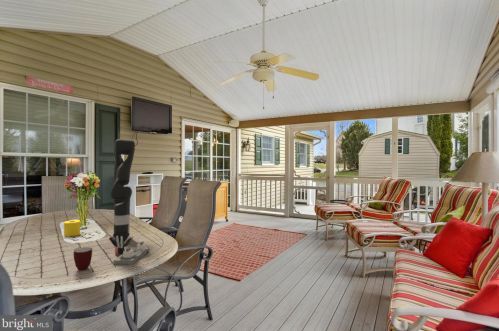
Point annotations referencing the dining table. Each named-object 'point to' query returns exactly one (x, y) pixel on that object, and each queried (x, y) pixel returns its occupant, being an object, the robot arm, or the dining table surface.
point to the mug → (82, 258)
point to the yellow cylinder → (72, 228)
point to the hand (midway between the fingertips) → (121, 254)
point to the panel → (134, 258)
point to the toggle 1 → (128, 253)
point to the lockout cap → (116, 251)
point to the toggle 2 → (141, 246)
